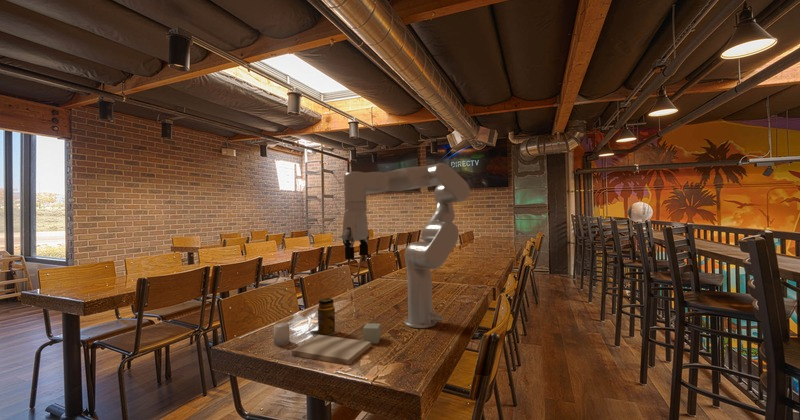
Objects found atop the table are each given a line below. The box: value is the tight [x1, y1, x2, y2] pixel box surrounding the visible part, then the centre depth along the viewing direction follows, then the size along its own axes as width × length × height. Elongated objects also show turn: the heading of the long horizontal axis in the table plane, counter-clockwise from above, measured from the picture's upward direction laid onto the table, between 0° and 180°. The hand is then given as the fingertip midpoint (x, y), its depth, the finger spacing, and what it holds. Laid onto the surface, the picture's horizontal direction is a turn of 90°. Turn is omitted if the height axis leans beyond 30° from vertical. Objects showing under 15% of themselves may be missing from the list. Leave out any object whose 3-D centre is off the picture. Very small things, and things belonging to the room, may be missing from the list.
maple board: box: [291, 335, 372, 365], centre depth 105 cm, size 20×14×2 cm
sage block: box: [362, 322, 382, 344], centre depth 113 cm, size 5×5×5 cm
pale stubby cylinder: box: [273, 322, 291, 347], centre depth 112 cm, size 5×5×6 cm
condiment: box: [309, 297, 339, 337], centre depth 122 cm, size 7×8×12 cm
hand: (357, 257), depth 115 cm, fingers open, 9 cm apart
